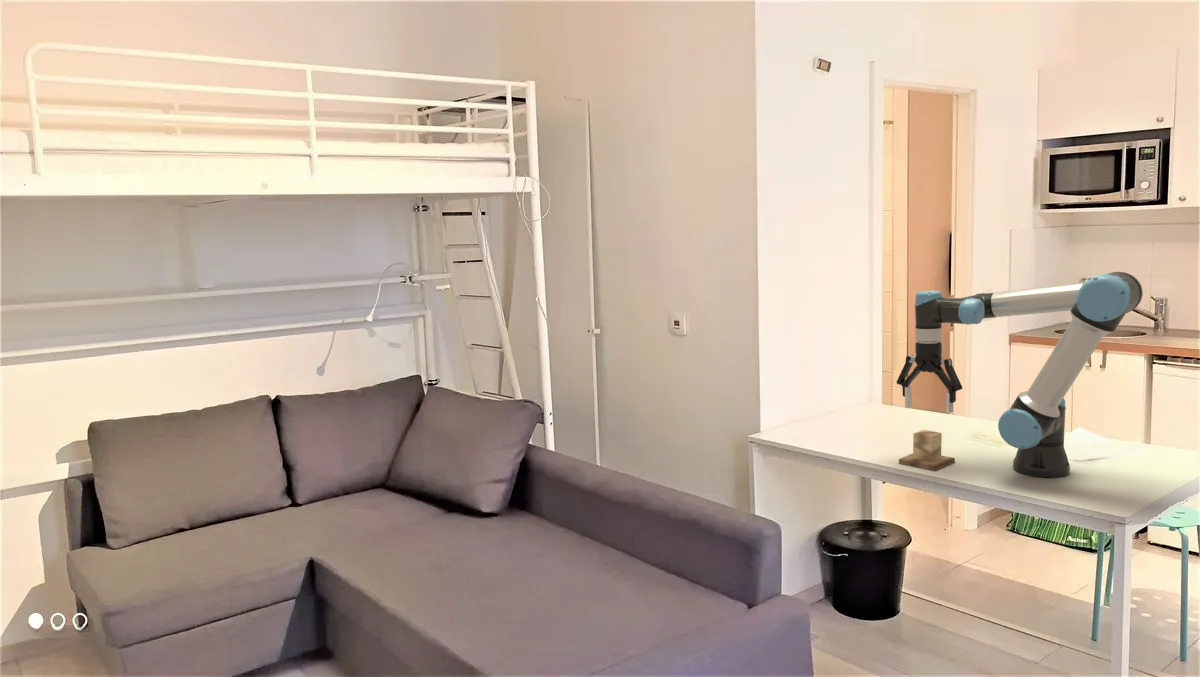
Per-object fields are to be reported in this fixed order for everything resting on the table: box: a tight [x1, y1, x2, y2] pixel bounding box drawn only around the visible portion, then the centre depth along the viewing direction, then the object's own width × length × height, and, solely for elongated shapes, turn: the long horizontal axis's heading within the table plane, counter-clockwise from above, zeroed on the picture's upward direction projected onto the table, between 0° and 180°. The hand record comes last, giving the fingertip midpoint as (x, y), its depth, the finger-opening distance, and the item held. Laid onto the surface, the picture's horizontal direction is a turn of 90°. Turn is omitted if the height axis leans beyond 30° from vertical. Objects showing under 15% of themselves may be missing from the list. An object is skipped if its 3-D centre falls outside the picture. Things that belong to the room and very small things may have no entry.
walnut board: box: [898, 453, 956, 472], centre depth 273 cm, size 12×12×2 cm
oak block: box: [912, 429, 943, 462], centre depth 273 cm, size 6×6×8 cm
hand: (928, 410), depth 271 cm, fingers open, 13 cm apart
